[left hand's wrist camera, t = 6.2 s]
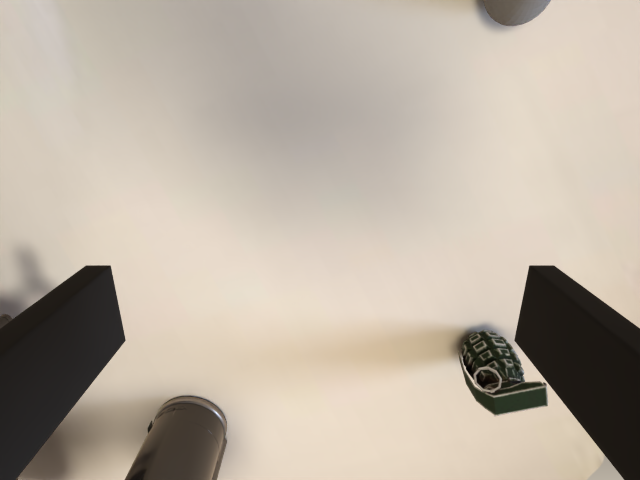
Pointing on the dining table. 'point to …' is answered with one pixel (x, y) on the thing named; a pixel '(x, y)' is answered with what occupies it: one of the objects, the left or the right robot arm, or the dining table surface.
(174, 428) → the right robot arm
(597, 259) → the dining table surface
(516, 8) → the molecular model
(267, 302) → the dining table surface
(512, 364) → the grenade
